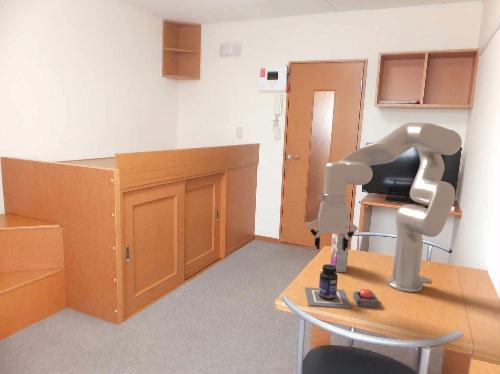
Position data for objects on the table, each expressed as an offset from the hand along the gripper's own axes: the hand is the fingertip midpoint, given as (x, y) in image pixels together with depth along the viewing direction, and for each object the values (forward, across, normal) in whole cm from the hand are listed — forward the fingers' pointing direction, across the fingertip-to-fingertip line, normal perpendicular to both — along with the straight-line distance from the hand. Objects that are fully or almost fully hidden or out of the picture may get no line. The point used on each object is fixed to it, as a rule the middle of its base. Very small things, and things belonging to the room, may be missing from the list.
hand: (330, 248), depth 130 cm
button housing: (+18, +13, -2) cm, 22 cm away
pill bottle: (+18, 0, 0) cm, 18 cm away
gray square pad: (+18, 0, 0) cm, 18 cm away
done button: (+16, +13, -1) cm, 21 cm away
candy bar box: (+18, +9, +30) cm, 37 cm away
